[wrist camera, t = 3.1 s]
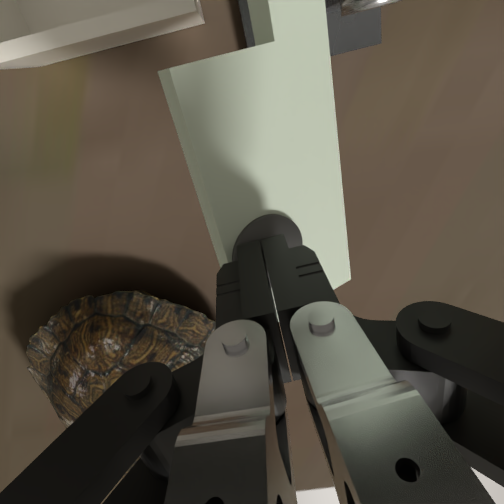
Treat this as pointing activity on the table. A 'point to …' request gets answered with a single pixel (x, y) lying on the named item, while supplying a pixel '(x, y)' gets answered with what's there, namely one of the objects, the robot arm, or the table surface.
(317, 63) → the lever
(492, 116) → the table surface
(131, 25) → the white open box
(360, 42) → the fulcrum
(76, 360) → the turtle shell
